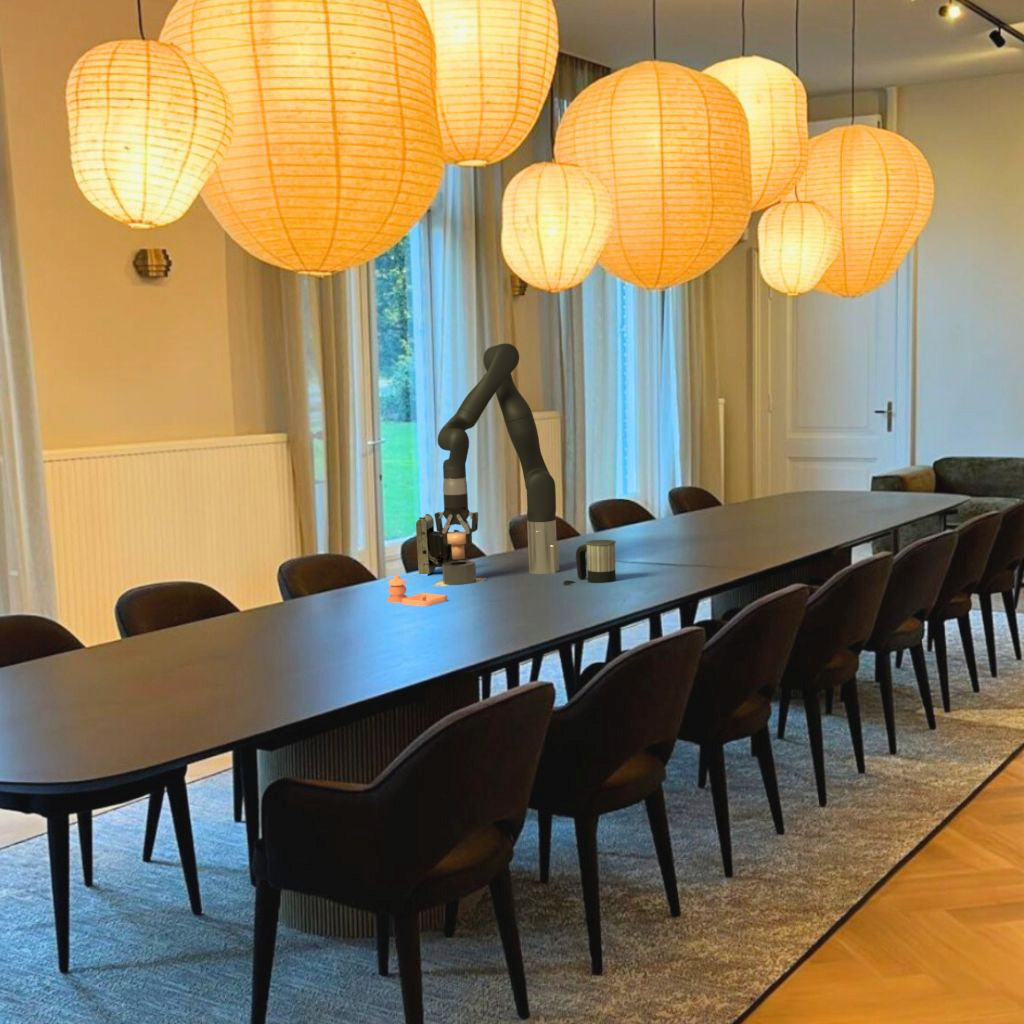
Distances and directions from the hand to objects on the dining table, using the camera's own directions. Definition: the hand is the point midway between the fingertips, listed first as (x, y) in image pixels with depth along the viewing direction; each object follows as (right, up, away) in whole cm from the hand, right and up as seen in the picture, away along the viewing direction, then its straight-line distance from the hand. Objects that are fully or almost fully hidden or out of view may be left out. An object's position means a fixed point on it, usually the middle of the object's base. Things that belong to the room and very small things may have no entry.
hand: (457, 545), depth 412 cm
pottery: (-12, -18, -30) cm, 37 cm away
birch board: (+1, -13, +2) cm, 13 cm away
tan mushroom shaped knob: (0, -4, 0) cm, 4 cm away
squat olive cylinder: (+1, -12, +1) cm, 12 cm away
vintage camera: (-5, -11, +24) cm, 27 cm away
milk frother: (+41, -14, -14) cm, 45 cm away
